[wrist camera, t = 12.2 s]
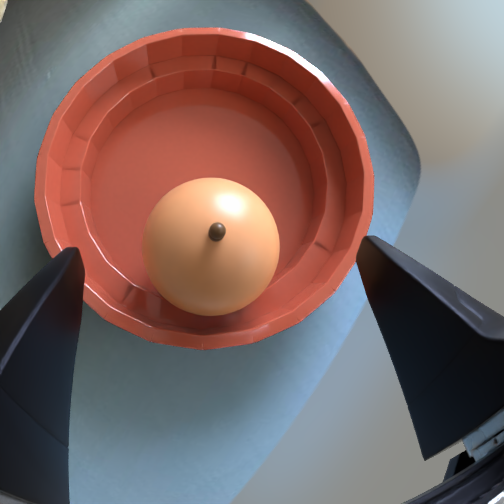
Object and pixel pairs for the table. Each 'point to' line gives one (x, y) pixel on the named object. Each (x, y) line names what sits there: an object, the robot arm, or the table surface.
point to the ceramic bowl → (2, 8)
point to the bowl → (204, 174)
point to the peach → (210, 246)
